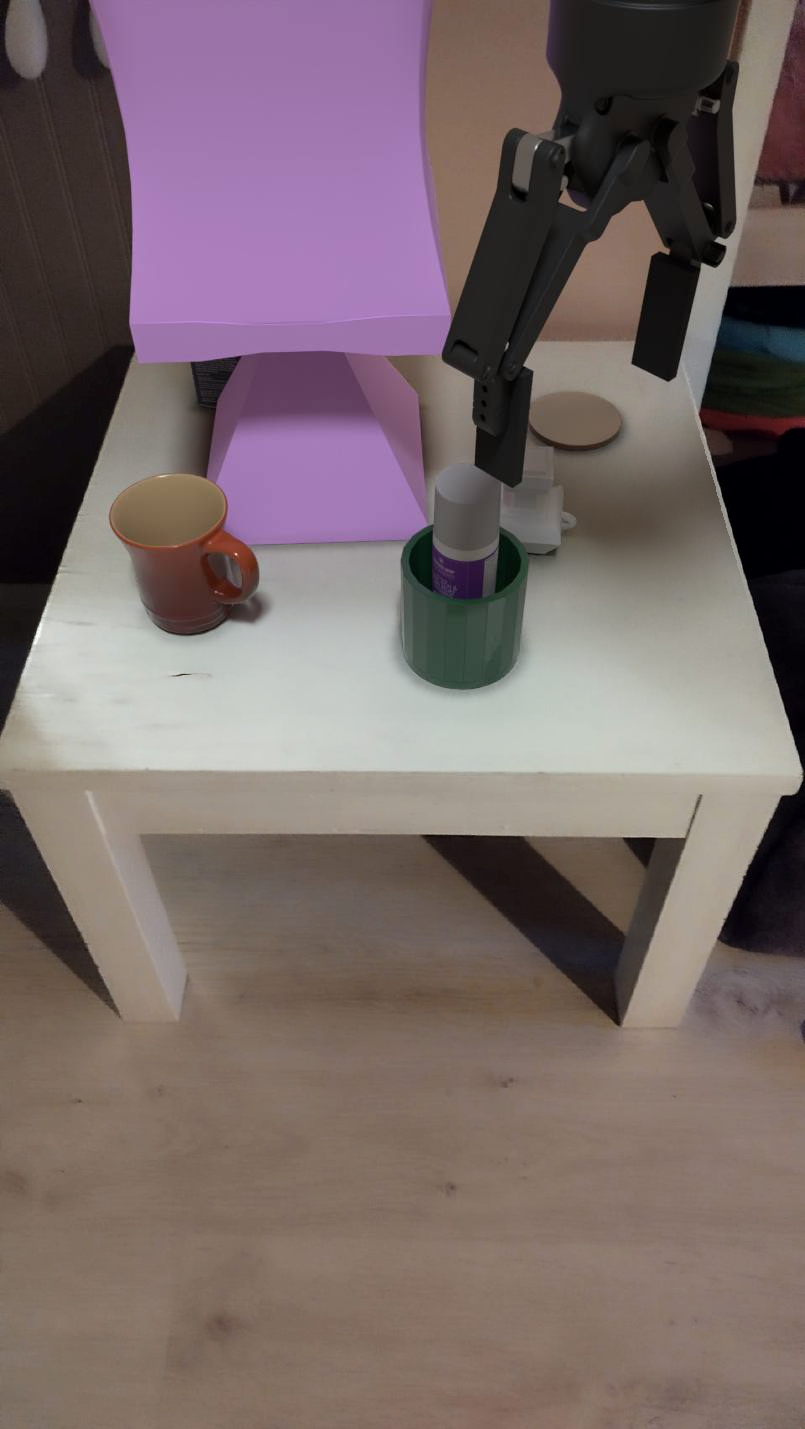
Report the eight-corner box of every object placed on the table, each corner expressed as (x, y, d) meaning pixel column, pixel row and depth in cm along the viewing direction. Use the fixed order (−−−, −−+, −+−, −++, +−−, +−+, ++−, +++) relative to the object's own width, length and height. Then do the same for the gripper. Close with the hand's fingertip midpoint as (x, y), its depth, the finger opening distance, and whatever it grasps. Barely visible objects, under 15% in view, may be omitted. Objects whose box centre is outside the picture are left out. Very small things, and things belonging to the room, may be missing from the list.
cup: (543, 645, 80) (555, 559, 73) (463, 708, 76) (468, 624, 69) (458, 588, 84) (461, 502, 77) (378, 646, 80) (374, 560, 73)
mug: (115, 620, 82) (83, 521, 74) (185, 558, 87) (162, 459, 79) (231, 678, 78) (210, 580, 70) (298, 610, 83) (286, 511, 75)
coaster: (639, 422, 99) (640, 417, 98) (581, 463, 95) (582, 457, 94) (567, 386, 103) (568, 380, 102) (508, 423, 99) (509, 418, 98)
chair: (431, 400, 101) (437, -198, 67) (444, 549, 87) (462, -112, 52) (207, 407, 101) (96, -190, 66) (184, 557, 87) (28, -101, 52)
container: (422, 651, 79) (423, 495, 67) (443, 611, 81) (447, 455, 70) (479, 667, 77) (490, 512, 66) (499, 626, 80) (512, 470, 69)
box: (251, 412, 101) (236, 309, 92) (196, 407, 101) (177, 305, 93) (270, 368, 106) (257, 267, 97) (217, 364, 106) (200, 263, 98)
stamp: (574, 517, 90) (586, 437, 83) (572, 568, 85) (584, 487, 79) (473, 510, 90) (477, 429, 84) (465, 559, 86) (469, 479, 80)
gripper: (746, -119, 47) (659, 310, 63) (352, 13, 36) (370, 490, 53) (895, -88, 44) (762, 357, 60) (510, 69, 33) (477, 560, 49)
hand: (579, 420), depth 56 cm, fingers open, 13 cm apart
